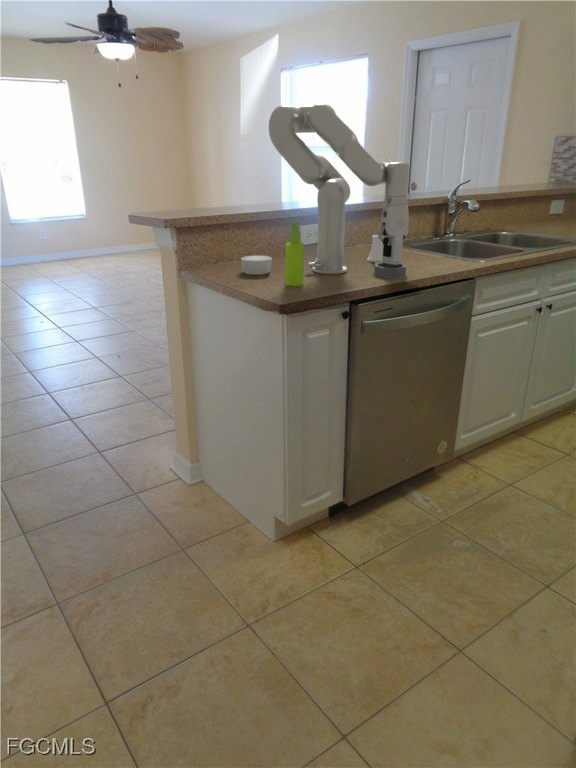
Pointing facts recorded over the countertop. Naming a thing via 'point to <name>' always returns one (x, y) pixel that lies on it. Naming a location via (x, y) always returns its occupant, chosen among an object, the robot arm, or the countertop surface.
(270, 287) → the countertop surface
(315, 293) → the countertop surface
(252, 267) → the ramekin
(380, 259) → the salt shaker
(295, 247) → the soap dispenser
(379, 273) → the cap collar
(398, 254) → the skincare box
